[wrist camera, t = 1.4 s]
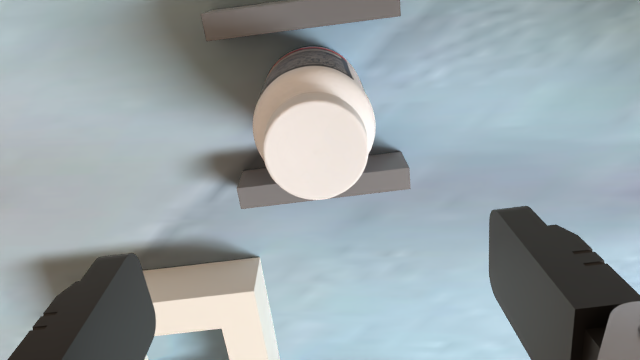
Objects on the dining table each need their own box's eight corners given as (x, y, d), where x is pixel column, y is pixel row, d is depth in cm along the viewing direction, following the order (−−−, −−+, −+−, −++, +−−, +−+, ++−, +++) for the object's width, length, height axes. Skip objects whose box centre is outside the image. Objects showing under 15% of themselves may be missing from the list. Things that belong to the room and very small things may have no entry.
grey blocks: (390, -14, 24) (399, -12, 22) (402, 171, 28) (410, 188, 26) (211, 10, 25) (200, 14, 22) (246, 189, 28) (241, 209, 26)
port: (259, 257, 30) (253, 295, 27) (286, 391, 34) (283, 440, 31) (84, 277, 31) (54, 318, 27) (132, 408, 35) (111, 458, 31)
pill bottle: (243, 85, 26) (213, 137, 18) (322, 24, 25) (329, 49, 17) (304, 160, 28) (301, 238, 20) (380, 105, 27) (412, 164, 19)
